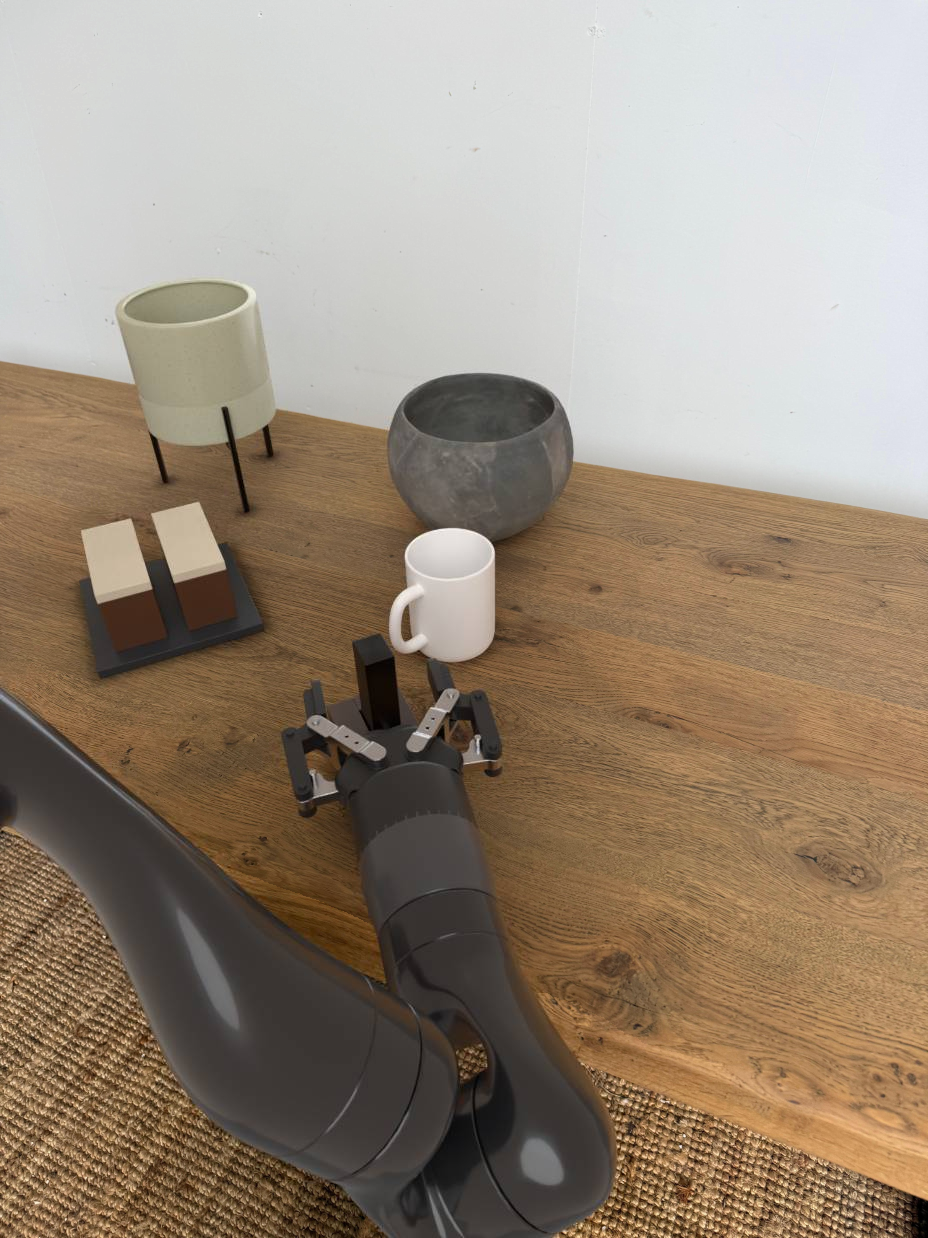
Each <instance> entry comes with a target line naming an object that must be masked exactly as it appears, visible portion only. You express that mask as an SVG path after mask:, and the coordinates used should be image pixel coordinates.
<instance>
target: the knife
mask: <svg viewBox="0 0 928 1238" xmlns="http://www.w3.org/2000/svg"><path fill="white" fill-rule="evenodd" d="M351 645H352V652H353V659H354V666H355V673H356V674H355V675H356V680H357V687H358V696H360V703H361V710H362V712H363V714H364V716H365V718H366V720H367V722H368V724H369V725H370V731H374V730H390V728H393V727H396V726H399V725H401V717H400V707H399V697H398V688H399V686H398V679H397V678H398V677H397V670H396V669H397V668H396V660H395V655H394V653H393V651H392V649H391V648H390V646H389V644H388V643H387V641H386V639H385V638H384V636H383V635H382V633H381V632H378V633H375V634H371V635H368V636H366V637H365V636H364V637H362V638H359V639H355V640H352V641H351ZM397 686H398V687H397Z"/></svg>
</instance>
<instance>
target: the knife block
mask: <svg viewBox="0 0 928 1238" xmlns="http://www.w3.org/2000/svg"><path fill="white" fill-rule="evenodd" d="M397 687H398V697H399V707H400V717H401V725H403V724H408V723H412V726H418V727H419V725H420V724H421V723H420V722H419V720H418V719H417V717H416V715H415V714H414V712H413V710H412V709H411V707H410V705H409V703H408V701H407V700H406V698H405V696H404V695H403V693H402V691H401V690H400V688H399V685H397ZM325 708H326V713H327V718H328V721H330V722H332V723H333V724H335V725H336V726H338V727H340V726H341V725H344V726H345V727H347V728H349V729H350V730H352V731H354V732H355V733H357V734H359V735H360V736H362V737H365V736H367V733H366V732H369V731H370V725H369V724H368V722H367V720H366V718H365V716H364V714H363V712H362V710H361V703H360V696H359V695H357V696H353V697H351V698H348V699H345V700H341V701H338V702H335V703H333V704H330V705H326V706H325ZM396 727H397V726H396ZM393 728H395V727H393ZM390 729H392V728H390Z"/></svg>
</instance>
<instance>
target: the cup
mask: <svg viewBox="0 0 928 1238" xmlns="http://www.w3.org/2000/svg"><path fill="white" fill-rule="evenodd" d="M495 557H496V551H495V548H494V545H493V544H492V542H490V541H489V540H488V539H487V538H485V537H484V536H482V535H481V534H478V533H476V532H473V531H470V530H466V529H459V528H445V529H438V530H430V531H426V532H424V533H422V534H420V535H418V536H417V537H415V538H414V539H413V540H412V541H410V543H409V544H408V545H407V546H406V549H405V551H404V566H405V576H406V577H405V578H406V587H407V588H405V589H403V590H402V592H401V591H400V593H399V594H398V595H397V597H396V598H395V599H394V601H393V603H392V605H391V609H390V612H389V620H388V634H389V639H390V643H391V645H392V647H393V649H394V650H395V651H397V652H398V653H400V654H404V655H407V654H408V655H409V654H413V653H415V652H418V651H420V652H421V653H422V654H423V655H425V656H426V657H428V658H429V659H432V658H436V659H437V662H443V663H460V662H465V661H470V660H472V659H475V658H476V657H479V656H480V655H481V654H483V653H484V652H485V651H487V650H488V648H489V647H490V645H491V644H492V643H493V639H494V637H495V632H496V631H495V630H496V558H495ZM407 606H408V612H409V613H408V614H409V625H410V632H411V638H410V639H409V640H407V641H404V639H403V636H402V620H403V619H402V618H403V614H404V611H405V609H406V607H407Z"/></svg>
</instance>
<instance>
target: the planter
mask: <svg viewBox="0 0 928 1238" xmlns="http://www.w3.org/2000/svg"><path fill="white" fill-rule="evenodd" d="M114 314H115V317H116V320H117V321H116V322H117V324H118V327H119V331H120V335H121V338H122V341H123V347H124V349H125V353H126V356H127V360H128V364H129V367H130V371H131V374H132V377H133V381H134V385H135V387H136V388H135V389H136V393H137V395H138V399H139V403H140V406H141V410H142V413H143V417H144V420H145V423H146V428H147V431H148V434H149V439H150V441H151V445H152V449H153V452H154V456H155V459H156V462H157V467H158V470H159V473H160V478H161V480H162V484H167V483H169V481H170V479H169V476H168V471H167V468H166V463H165V460H164V456H163V454H162V450H161V445H160V443H159V440H160V441H161V442H165V443H167V444H172V445H176V446H183V447H184V446H185V447H207V446H215V445H222V444H225V445H226V447H227V448H228V450H229V451H230V455H231V460H232V466H233V469H234V474H235V478H236V483H237V487H238V492H239V496H240V501H241V504H242V511H243V512H244V513H245V514H247V513H249V512H251V510H250V506H249V500H248V496H247V491H246V487H245V482H244V478H243V473H242V468H241V463H240V459H239V454H238V449H237V445H236V444H237V443H236V441H238V440H241V439H243V438H246V437H249V436H251V435H253V434H255V433H257V432H259V431H261V430H262V434H263V441H264V446H265V451H266V455H267V457H273V456H274V449H273V443H272V438H271V432H270V426H269V424H270V423H271V421H272V420H273V419H274V417H275V415H276V411H277V405H276V399H275V394H274V388H273V382H272V375H271V371H270V366H269V360H268V354H267V349H266V343H265V337H264V331H263V324H262V319H261V313H260V308H259V302H258V297H257V293H256V291H255V289H254V288H252V287H251V286H250V285H249V284H246V283H243V282H241V281H237V280H234V279H233V280H232V279H226V278H218V277H217V278H216V277H215V278H214V277H198V278H197V277H195V278H184V279H176V280H170V281H165V282H160V283H156V284H152V285H149V286H146V287H144V288H141V289H138V290H135V291H133V292H131V293H130V294H128V295H126V296H125V297H123V298H122V299H120V300H119V302H118V303H117V304H116V306H115V309H114Z"/></svg>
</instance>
